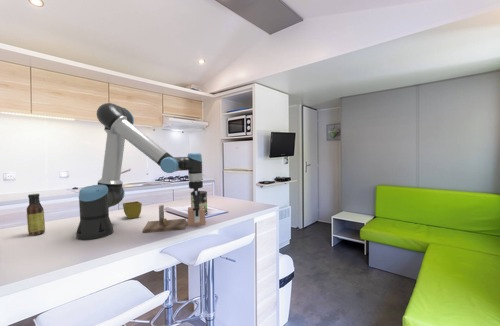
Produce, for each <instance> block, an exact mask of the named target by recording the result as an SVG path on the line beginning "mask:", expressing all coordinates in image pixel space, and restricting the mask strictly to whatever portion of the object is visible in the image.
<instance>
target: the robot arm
mask: <svg viewBox="0 0 500 326" xmlns="http://www.w3.org/2000/svg"><path fill="white" fill-rule="evenodd" d="M96 117H97V118H96V119H97V120H98V122H99V123H100V124H102V126H104V132H105V133H106V140H105V149H104V156H103V157H104V159H103V167H102V171H101V172H102V173H101V178H100V179H99V180H98V181H97V184H92V185H88V186H85V187H82V188H81V189H80V190H79V192H78V204H79V223H78V226H77V229H76V232H75V238H76V240H80V241H83V240H84V241H85V240H94V239H95V240H96V239H99V238H103V237H107V236H109V235H112V234H113V233H114V226H113V223H112V221H111V219H110V216H109V215H110V213H109V209H110V208H111V207H115V206H116V205H118V204H120V202H122V201H123V199H124V198H125V193H126V192H125V189H124V188H123V184H124V183H123V181H122V180H121V174H122V166H123V158H124V151H125V150H124V149H125V142H126V141H127V142H129V143H130V144H131V145H132V146H133V147H135V148H136V149H137V150H139V151H140V152H141V153H143V154H144V155H145V156H147V158H149V159H150V160H151V161H153V162H154V163H155V164H157V165H158V166H159V167H160V169H161V170H162V171H163V172H164V173H166V174H172V173H175V172H179V171H180V172H182V171H186V172H187V171H188V172H187V173H188V174H187V175H188V176H187V177H188V181H189V182H188V188H189V189H192V191H191V192H192V194H193V199H194V209H193V211H194V220H195V222H200V213H199V209H200V208H199V204H200V202H199V198H200V196H199V195H200V191H201V190H199V189H203V177H204V174H203V158H202V153H200V152H194V153H193V152H191V153H188V154H187V156H173V155H171V154H170V153H169V152H168V151H166V149H164V148H163V147H161V146H160V145H159V144H158V143H157V142H155V141H154V140H153V139H151V137H149V136H148V135H146V134H145V133H144V132H143V131H142V130H140V129H139V128H137V126H135V125H134V122H135V121H134V120H135V119H134V115H133V113H131V112H130V111H129V109H127V108H125V107H123V106H120V105H117V104H115V103H112V102H107V103H102V104H101V105H100V106H99V107H98V108H97V110H96ZM125 140H126V141H125Z"/></svg>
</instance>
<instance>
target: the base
mask: <svg viewBox="0 0 500 326" xmlns="http://www.w3.org/2000/svg"><path fill="white" fill-rule="evenodd" d="M158 214H159V215H158V217H159V219H158V220H152V221H151V220H150V221H147V222H146V224H145V225H144V227H143V228H142V234H146V233H156V232H167V231H180V230H186V221H187V219H186V218H179V219H177V218H176V219H167V218H165V205H164V204H160V205H158Z"/></svg>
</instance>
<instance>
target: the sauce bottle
mask: <svg viewBox="0 0 500 326" xmlns="http://www.w3.org/2000/svg"><path fill="white" fill-rule="evenodd" d="M27 197H28V201H29V202H28V206H27V207H26V221H27V222H26V223H27V232H28V236H30V235H34V236H38V235H37V234H39V235H42V234H41V233H43V234H44V233H45V231H46V224H45V212H44V211H45V210H44V207H43V205H42V204H41V201H40V193H30V194H28V195H27Z"/></svg>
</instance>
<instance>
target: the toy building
mask: <svg viewBox="0 0 500 326" xmlns="http://www.w3.org/2000/svg"><path fill="white" fill-rule="evenodd" d="M199 208H200V209H199V213H200V222H195V220H194V211H193V209H194V207H191V206H189V207H187V226H188V227H190V226H191V227H192V226H202V225H203V226H204V225H206V215H205V209H204V206H202V207H199Z"/></svg>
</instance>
